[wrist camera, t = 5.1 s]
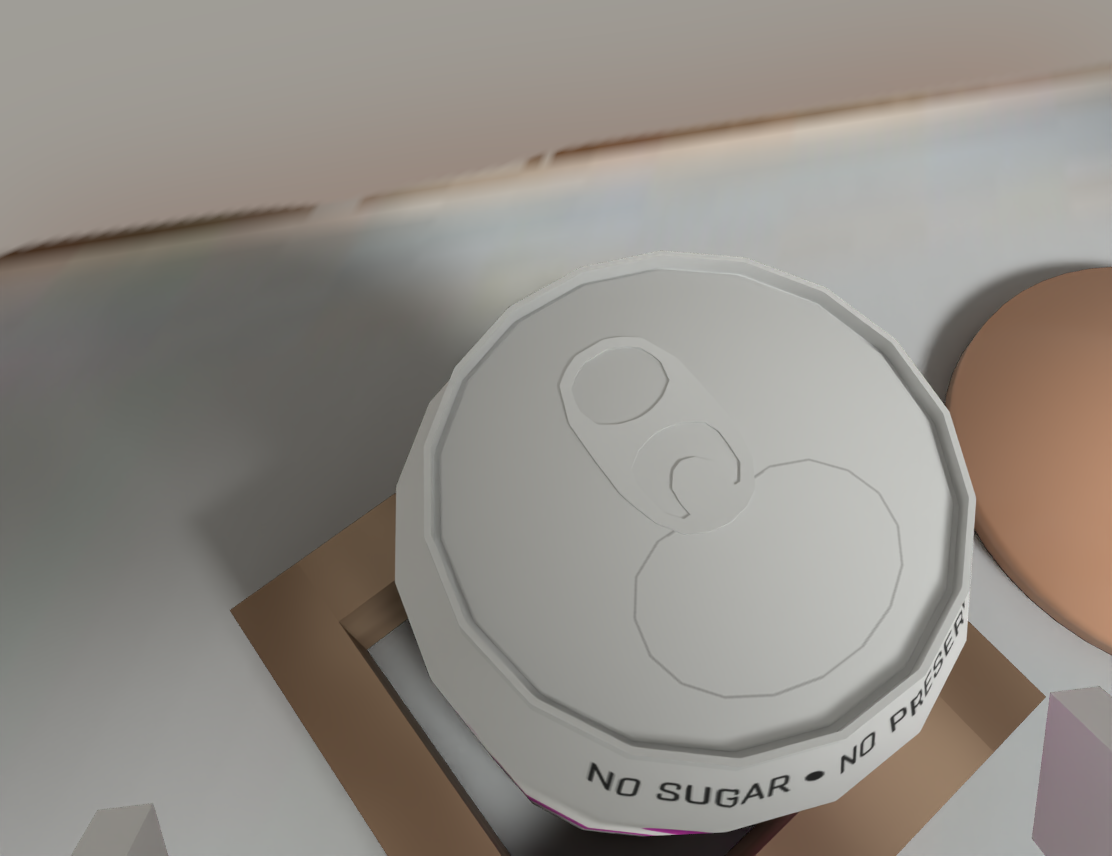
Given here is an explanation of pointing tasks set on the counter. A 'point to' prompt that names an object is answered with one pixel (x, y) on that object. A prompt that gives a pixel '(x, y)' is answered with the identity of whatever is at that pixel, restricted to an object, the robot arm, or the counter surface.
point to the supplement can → (686, 544)
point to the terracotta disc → (1045, 445)
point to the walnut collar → (441, 801)
